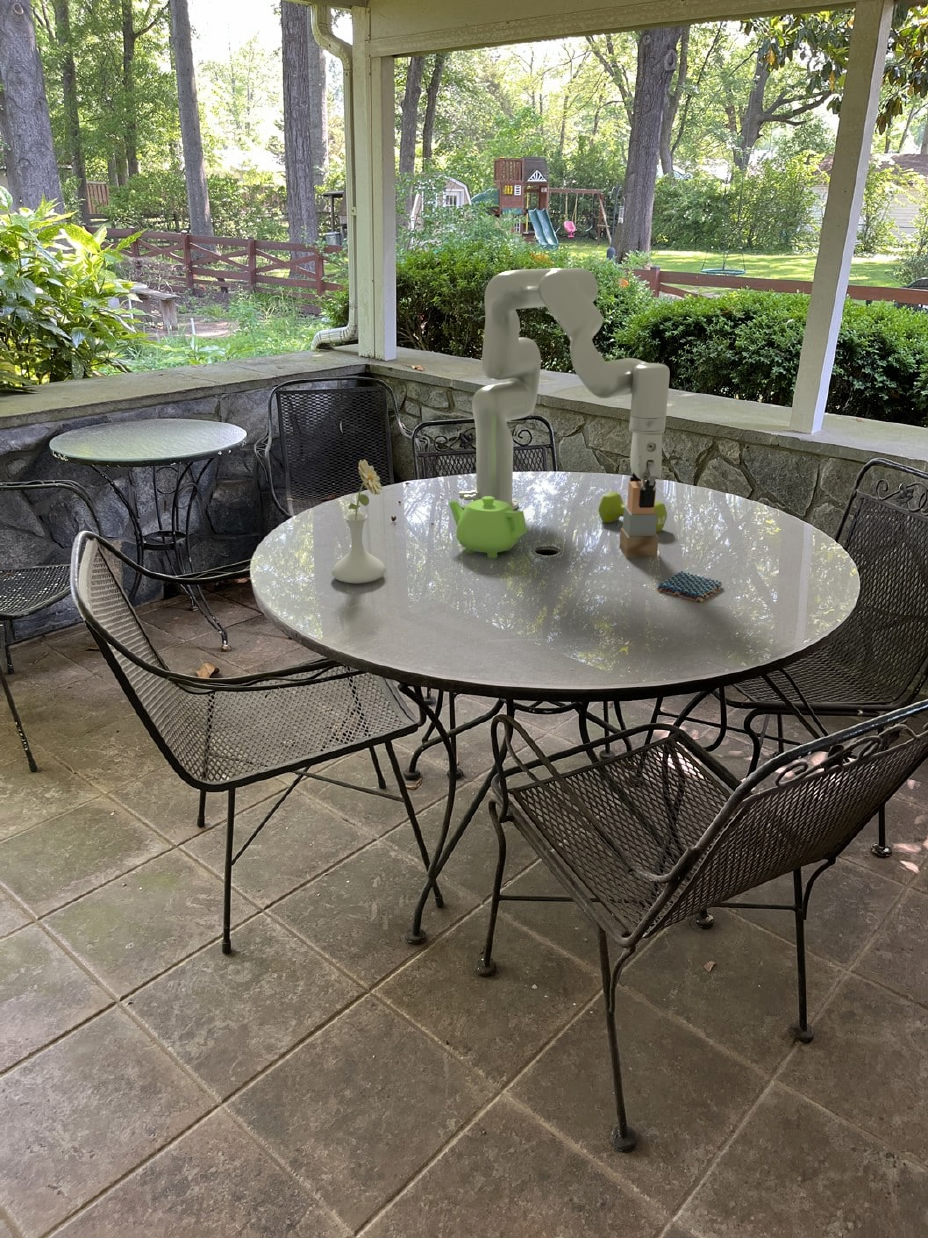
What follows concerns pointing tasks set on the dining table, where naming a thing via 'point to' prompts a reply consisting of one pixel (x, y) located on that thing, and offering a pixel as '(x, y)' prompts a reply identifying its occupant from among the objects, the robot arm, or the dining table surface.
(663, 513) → the dumbbell
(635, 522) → the tower top
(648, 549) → the tower base
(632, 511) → the terracotta block
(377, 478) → the flower in vase
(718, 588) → the woven mat
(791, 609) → the dining table surface
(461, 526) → the teapot
